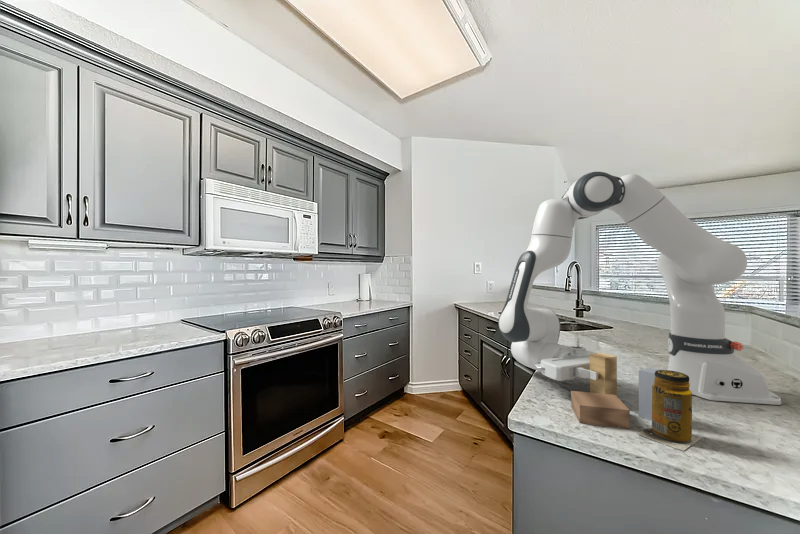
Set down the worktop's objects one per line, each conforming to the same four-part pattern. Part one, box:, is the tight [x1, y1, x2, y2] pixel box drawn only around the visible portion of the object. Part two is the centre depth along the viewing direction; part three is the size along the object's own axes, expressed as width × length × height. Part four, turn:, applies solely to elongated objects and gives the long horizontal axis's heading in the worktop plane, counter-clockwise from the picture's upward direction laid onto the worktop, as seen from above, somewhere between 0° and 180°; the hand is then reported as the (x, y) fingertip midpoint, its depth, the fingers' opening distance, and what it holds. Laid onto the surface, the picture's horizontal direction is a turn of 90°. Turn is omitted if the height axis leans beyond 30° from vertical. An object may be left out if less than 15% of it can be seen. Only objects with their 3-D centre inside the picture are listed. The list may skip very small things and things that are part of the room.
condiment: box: [636, 369, 701, 452], centre depth 66 cm, size 7×8×12 cm
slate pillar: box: [638, 367, 658, 422], centre depth 74 cm, size 4×4×10 cm
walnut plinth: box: [570, 390, 631, 430], centre depth 75 cm, size 9×9×4 cm
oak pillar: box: [589, 352, 618, 397], centre depth 83 cm, size 4×4×10 cm
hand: (606, 374), depth 82 cm, fingers closed on oak pillar, 4 cm apart
